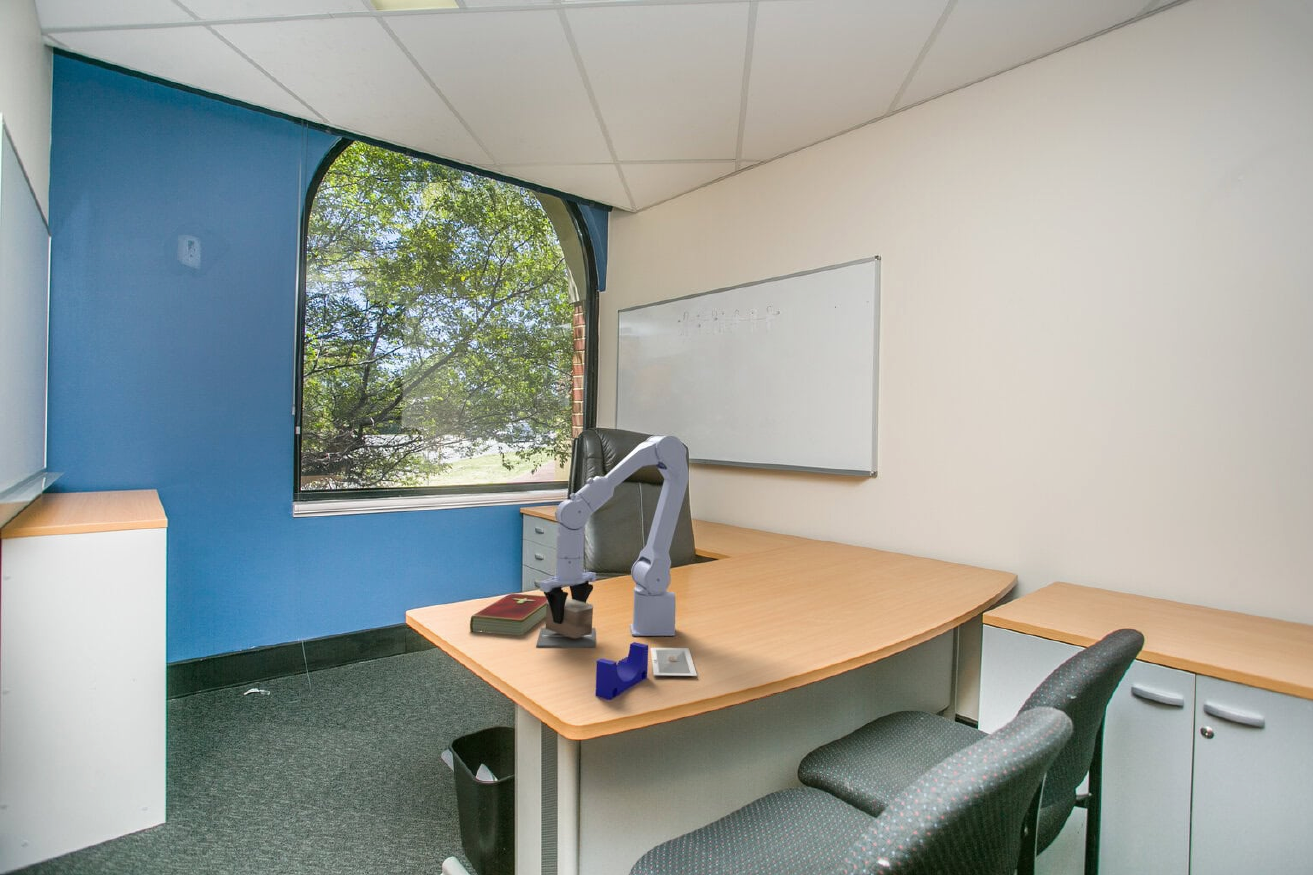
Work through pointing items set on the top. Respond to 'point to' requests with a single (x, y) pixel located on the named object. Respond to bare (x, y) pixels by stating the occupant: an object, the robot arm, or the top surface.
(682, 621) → the top surface
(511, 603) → the hardcover book
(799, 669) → the top surface
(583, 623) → the card box
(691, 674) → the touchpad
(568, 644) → the mat
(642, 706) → the top surface
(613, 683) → the blue cradle bracket
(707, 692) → the top surface
